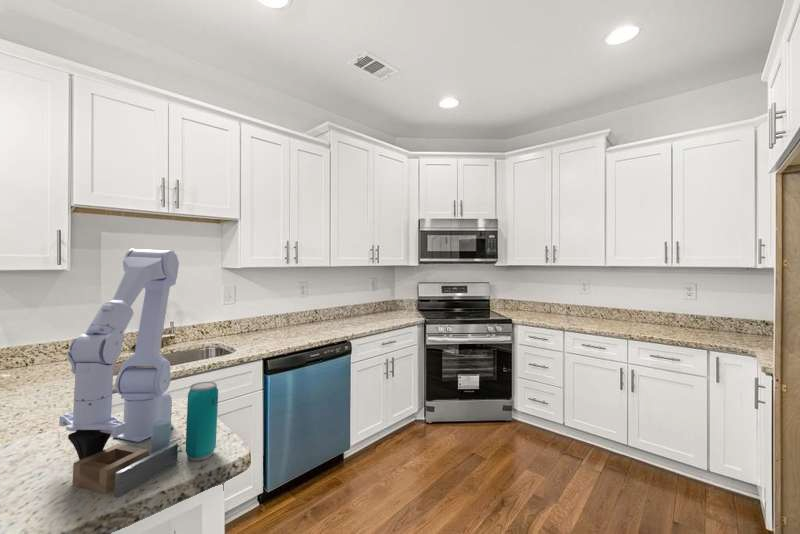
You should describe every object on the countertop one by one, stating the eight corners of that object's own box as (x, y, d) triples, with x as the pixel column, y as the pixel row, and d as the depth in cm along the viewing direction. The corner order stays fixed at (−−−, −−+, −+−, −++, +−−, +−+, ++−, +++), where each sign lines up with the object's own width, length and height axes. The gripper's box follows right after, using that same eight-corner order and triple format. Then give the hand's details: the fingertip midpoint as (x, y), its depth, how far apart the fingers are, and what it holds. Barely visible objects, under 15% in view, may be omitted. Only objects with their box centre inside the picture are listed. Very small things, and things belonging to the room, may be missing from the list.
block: (116, 463, 74) (117, 443, 74) (147, 470, 72) (148, 450, 72) (72, 485, 67) (73, 463, 67) (105, 493, 64) (106, 470, 65)
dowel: (160, 451, 80) (162, 419, 80) (173, 454, 79) (175, 421, 79) (146, 459, 76) (148, 425, 77) (159, 461, 76) (161, 427, 76)
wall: (173, 462, 76) (174, 442, 76) (177, 463, 75) (178, 443, 75) (114, 495, 64) (115, 472, 64) (118, 497, 64) (119, 473, 64)
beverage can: (219, 448, 82) (222, 381, 82) (210, 461, 76) (213, 389, 77) (191, 449, 81) (194, 381, 81) (180, 463, 75) (183, 389, 76)
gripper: (42, 398, 69) (38, 471, 69) (99, 408, 65) (95, 485, 65) (83, 387, 76) (79, 453, 76) (137, 395, 72) (134, 465, 72)
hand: (90, 467), depth 71 cm, fingers closed
